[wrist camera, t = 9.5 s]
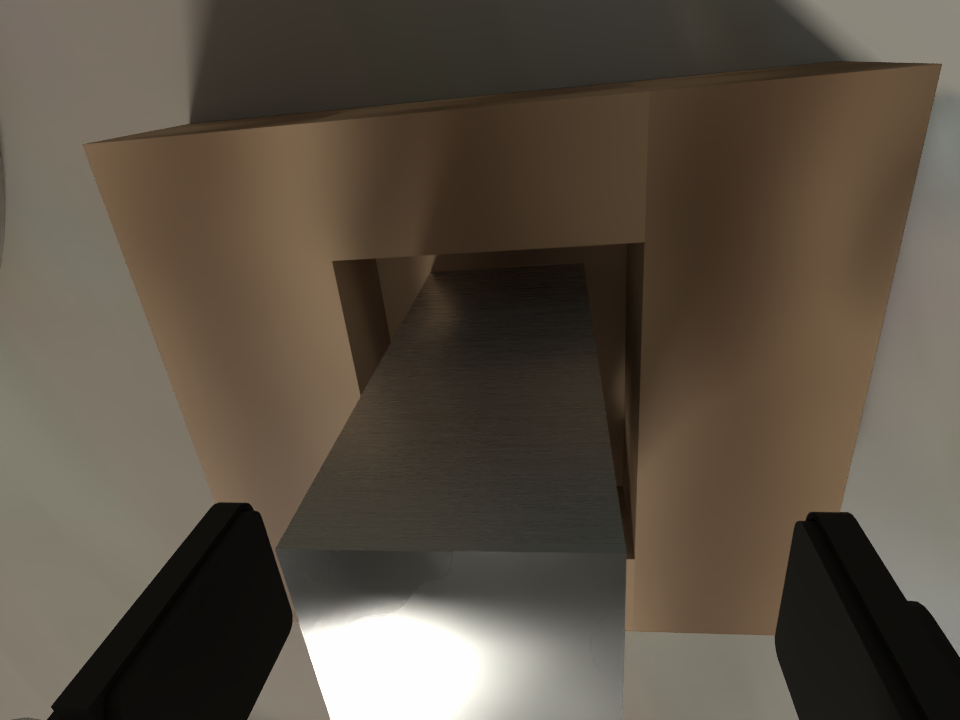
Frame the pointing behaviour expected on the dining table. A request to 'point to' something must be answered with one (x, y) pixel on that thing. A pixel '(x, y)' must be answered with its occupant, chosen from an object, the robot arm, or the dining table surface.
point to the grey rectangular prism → (470, 516)
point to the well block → (553, 241)
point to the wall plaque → (2, 211)
